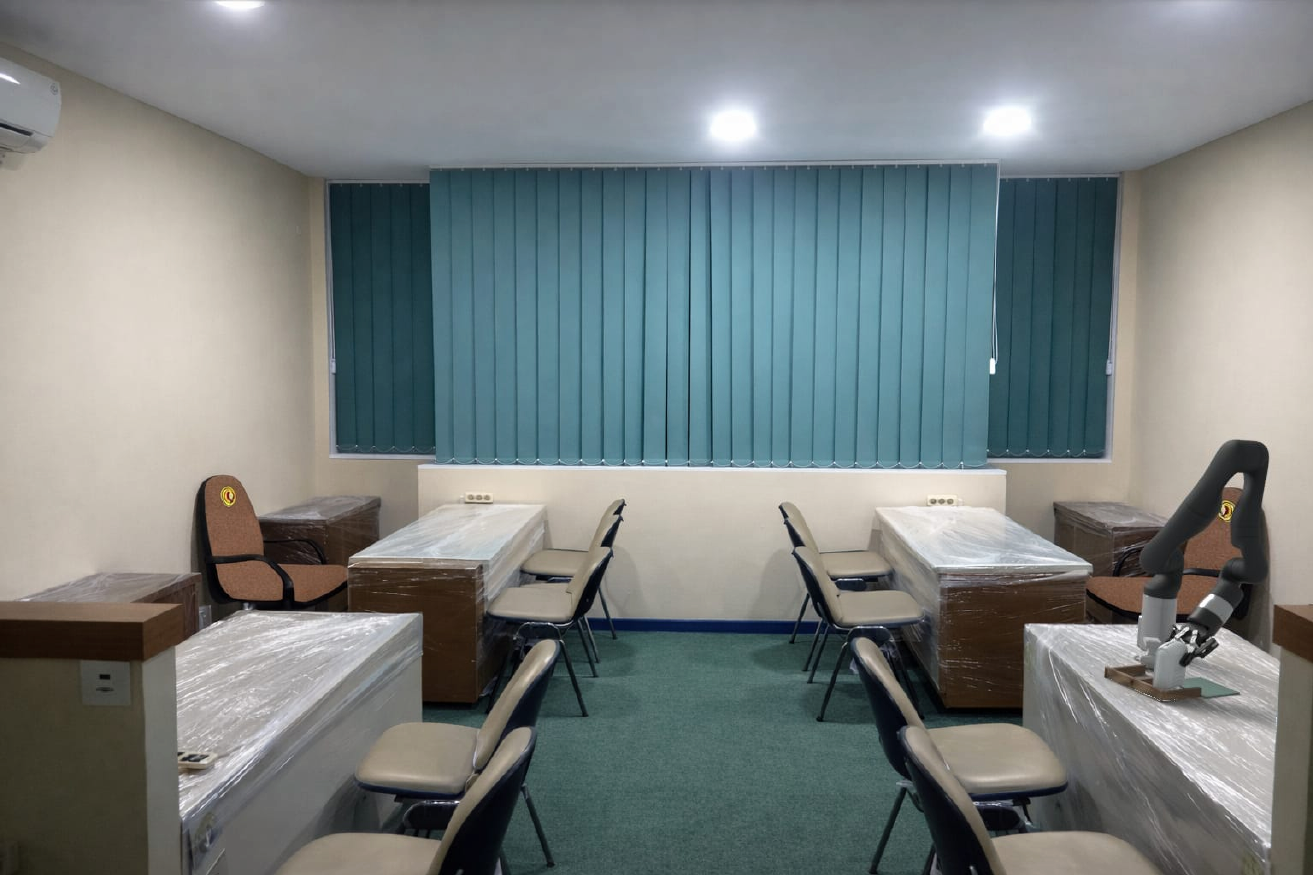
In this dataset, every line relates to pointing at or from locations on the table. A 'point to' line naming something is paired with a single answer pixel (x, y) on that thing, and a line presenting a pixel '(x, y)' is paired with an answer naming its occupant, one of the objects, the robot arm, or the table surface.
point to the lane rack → (1147, 683)
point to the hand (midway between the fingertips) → (1173, 661)
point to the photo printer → (1169, 665)
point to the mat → (1208, 687)
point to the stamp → (1148, 652)
